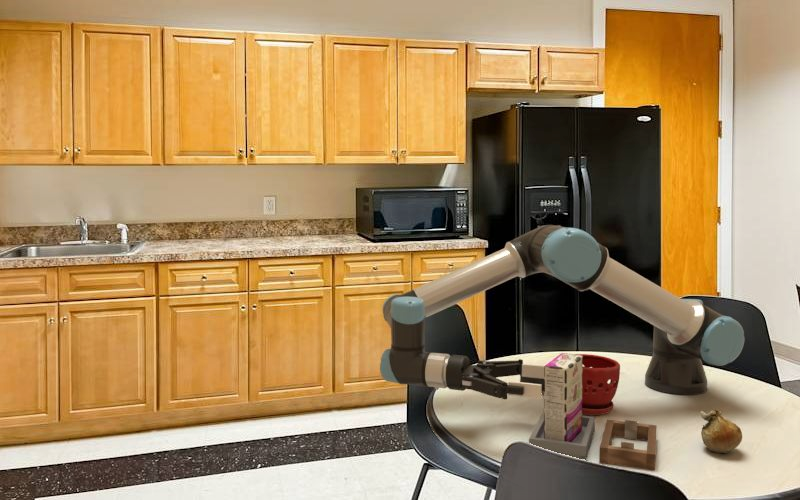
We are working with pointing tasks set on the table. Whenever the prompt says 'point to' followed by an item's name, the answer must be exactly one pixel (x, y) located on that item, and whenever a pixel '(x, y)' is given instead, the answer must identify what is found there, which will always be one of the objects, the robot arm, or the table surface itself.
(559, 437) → the candy bar box
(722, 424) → the onion
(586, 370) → the plant pot
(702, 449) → the table surface
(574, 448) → the tray
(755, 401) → the table surface
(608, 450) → the brown rectangular open box
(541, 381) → the black sponge
